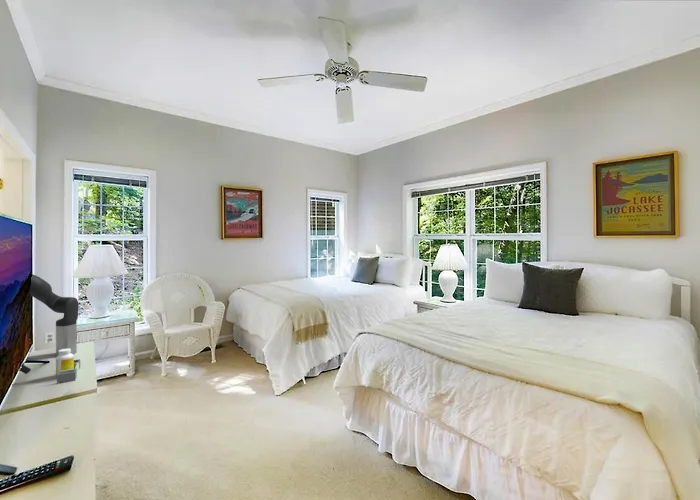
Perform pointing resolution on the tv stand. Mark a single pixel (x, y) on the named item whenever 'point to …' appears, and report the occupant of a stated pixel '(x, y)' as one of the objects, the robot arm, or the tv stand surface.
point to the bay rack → (69, 373)
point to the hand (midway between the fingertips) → (28, 371)
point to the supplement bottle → (64, 360)
